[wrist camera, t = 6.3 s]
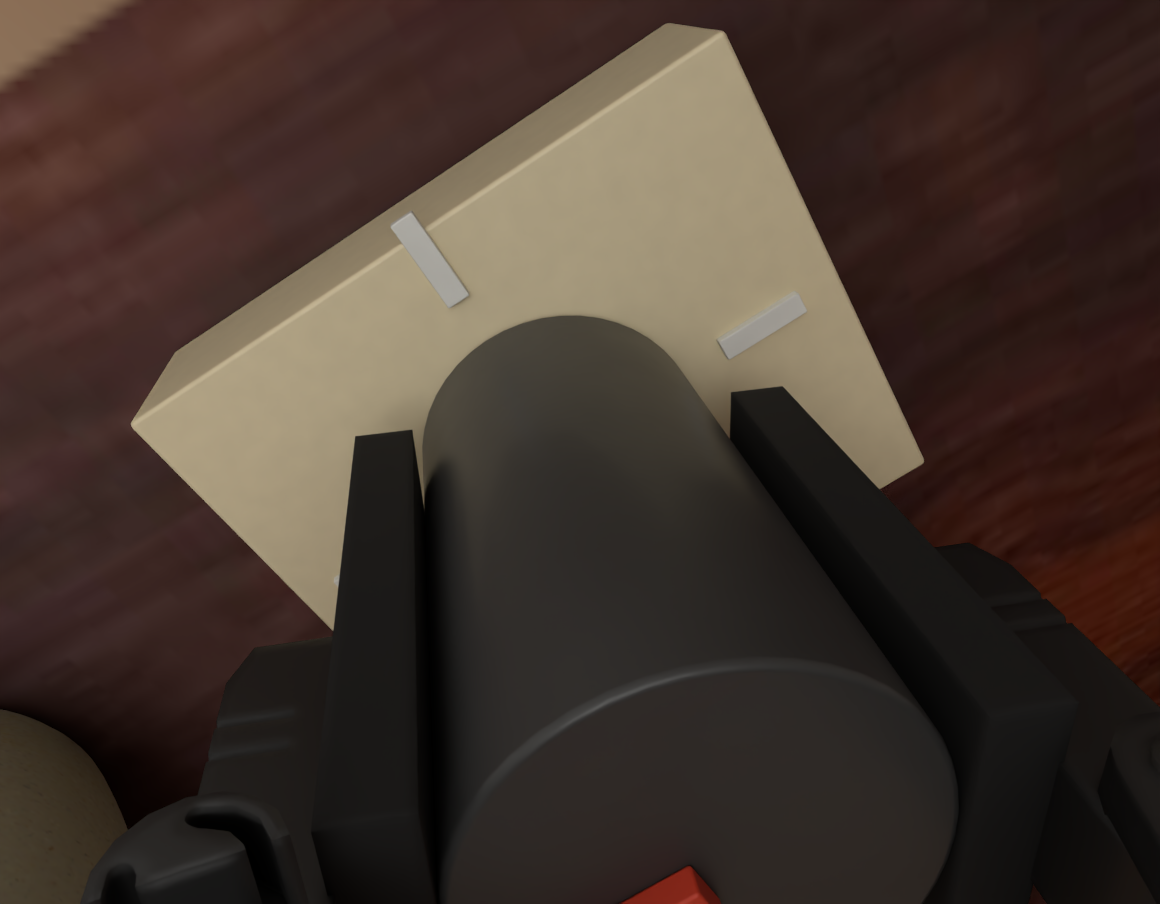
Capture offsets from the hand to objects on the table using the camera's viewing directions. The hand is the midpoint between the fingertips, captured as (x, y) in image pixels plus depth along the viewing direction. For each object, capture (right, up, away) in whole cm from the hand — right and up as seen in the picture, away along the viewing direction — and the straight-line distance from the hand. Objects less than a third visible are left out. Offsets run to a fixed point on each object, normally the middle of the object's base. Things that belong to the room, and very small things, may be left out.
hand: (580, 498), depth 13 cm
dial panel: (-1, +2, +4) cm, 5 cm away
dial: (0, +1, +1) cm, 2 cm away
